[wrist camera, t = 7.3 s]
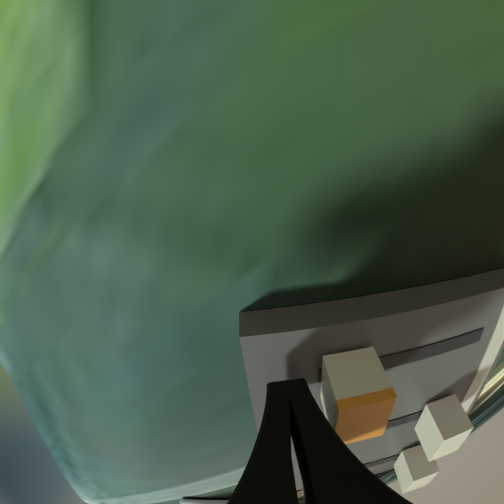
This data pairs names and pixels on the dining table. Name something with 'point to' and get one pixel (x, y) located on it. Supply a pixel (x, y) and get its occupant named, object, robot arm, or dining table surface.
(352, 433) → the switch
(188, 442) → the dining table surface
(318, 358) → the panel
